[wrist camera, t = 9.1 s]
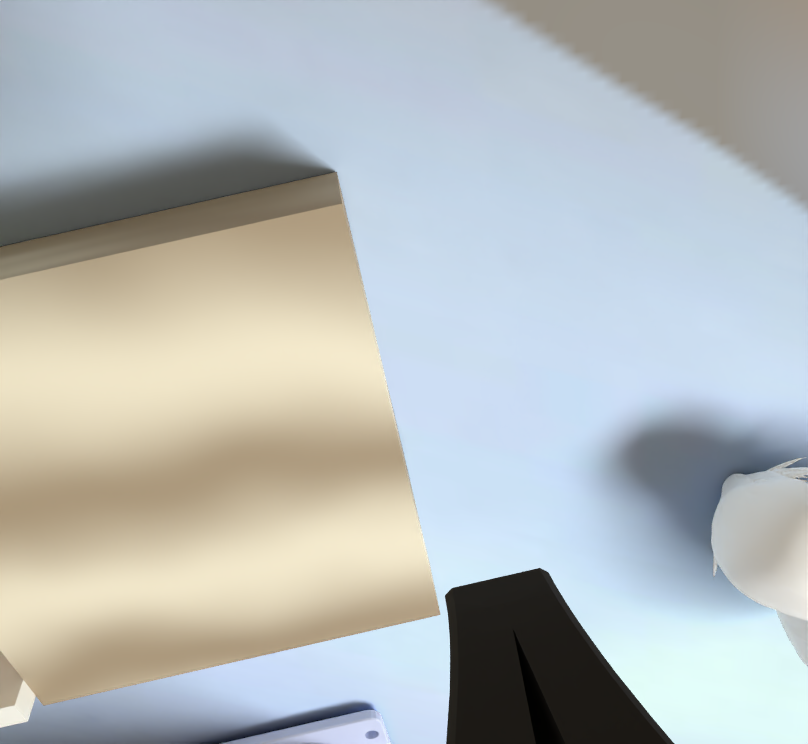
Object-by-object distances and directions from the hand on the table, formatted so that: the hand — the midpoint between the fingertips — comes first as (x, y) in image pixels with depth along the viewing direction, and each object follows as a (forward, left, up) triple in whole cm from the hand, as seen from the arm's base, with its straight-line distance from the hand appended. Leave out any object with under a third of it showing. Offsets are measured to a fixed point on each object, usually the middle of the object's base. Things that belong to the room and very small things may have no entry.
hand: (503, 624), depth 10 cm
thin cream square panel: (-3, +7, -10) cm, 12 cm away
